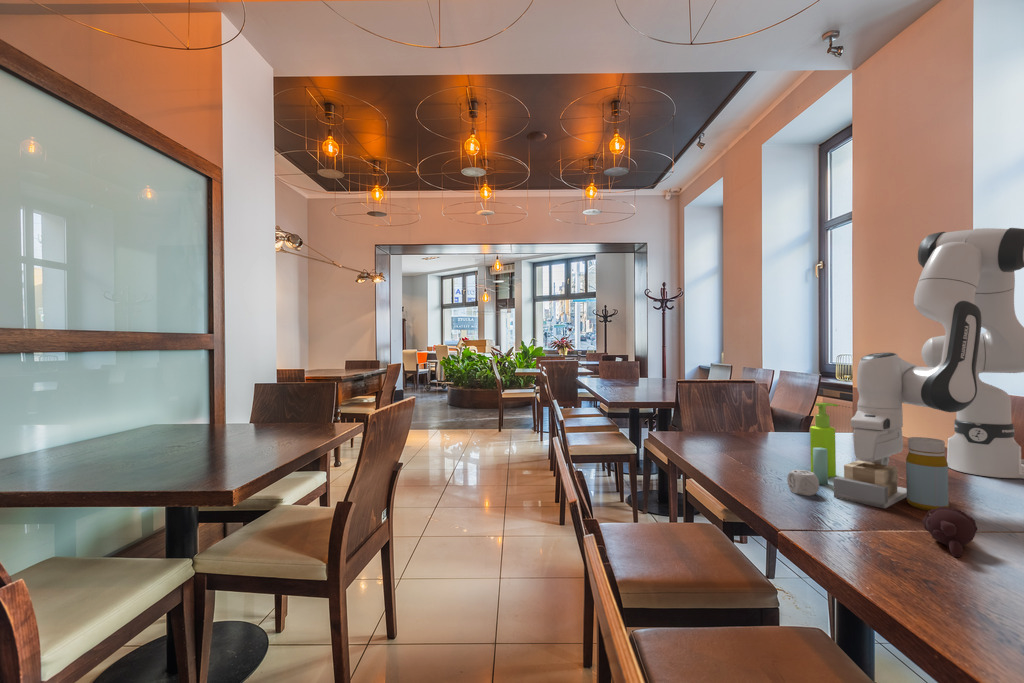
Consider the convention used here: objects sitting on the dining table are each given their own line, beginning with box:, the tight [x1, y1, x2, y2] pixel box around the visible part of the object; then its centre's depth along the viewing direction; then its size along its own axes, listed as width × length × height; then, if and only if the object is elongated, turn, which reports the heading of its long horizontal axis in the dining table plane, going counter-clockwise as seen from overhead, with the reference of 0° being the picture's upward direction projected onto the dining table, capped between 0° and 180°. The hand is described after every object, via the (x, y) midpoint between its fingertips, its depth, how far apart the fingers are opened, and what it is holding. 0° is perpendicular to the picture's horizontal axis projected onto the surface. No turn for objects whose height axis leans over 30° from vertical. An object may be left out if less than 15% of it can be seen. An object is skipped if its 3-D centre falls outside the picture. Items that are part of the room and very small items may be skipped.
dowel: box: [813, 448, 829, 486], centre depth 124 cm, size 3×3×9 cm
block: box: [843, 459, 898, 497], centre depth 113 cm, size 8×8×6 cm
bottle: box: [905, 436, 949, 512], centre depth 106 cm, size 7×7×15 cm
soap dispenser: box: [809, 402, 839, 478], centre depth 132 cm, size 6×7×20 cm
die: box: [786, 469, 820, 497], centre depth 117 cm, size 5×5×5 cm
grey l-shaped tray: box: [833, 476, 907, 509], centre depth 114 cm, size 18×10×4 cm, turn 124°
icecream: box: [921, 506, 978, 558], centre depth 86 cm, size 7×7×15 cm
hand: (880, 474), depth 116 cm, fingers closed
